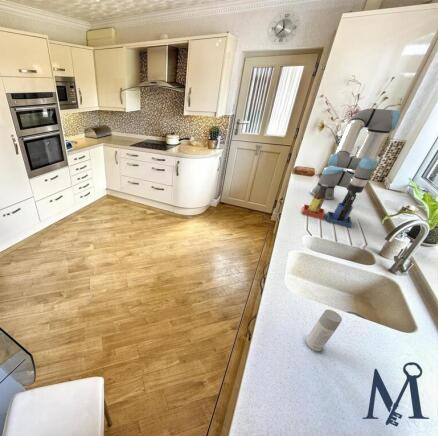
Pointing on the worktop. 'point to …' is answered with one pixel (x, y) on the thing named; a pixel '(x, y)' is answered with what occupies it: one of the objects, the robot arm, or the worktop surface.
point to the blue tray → (339, 222)
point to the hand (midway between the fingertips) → (339, 217)
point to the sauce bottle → (318, 199)
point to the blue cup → (338, 211)
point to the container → (323, 330)
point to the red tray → (318, 215)
